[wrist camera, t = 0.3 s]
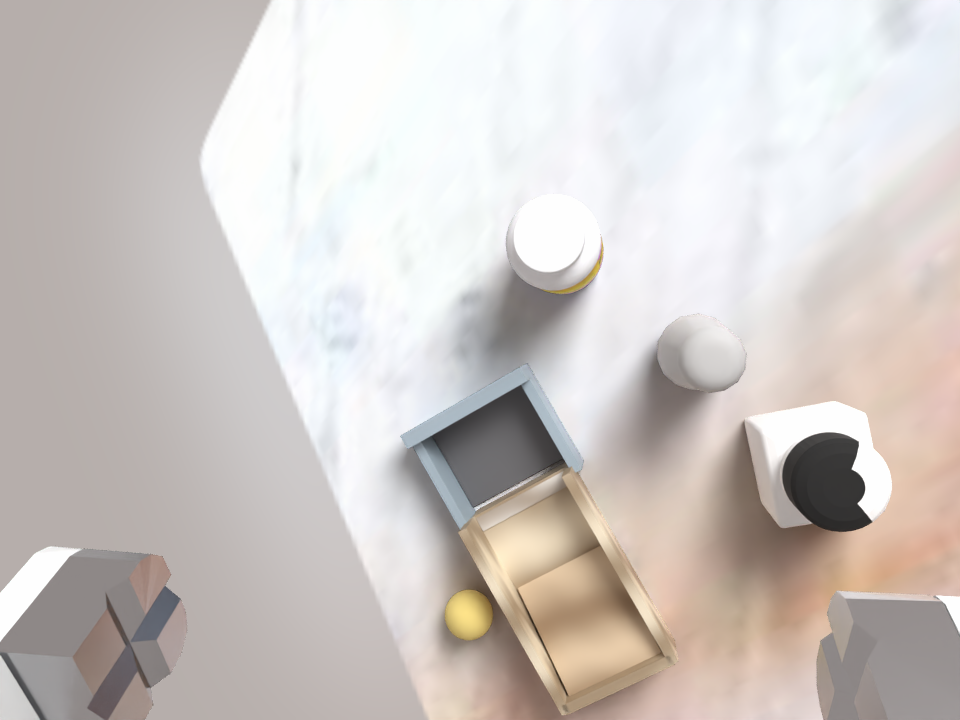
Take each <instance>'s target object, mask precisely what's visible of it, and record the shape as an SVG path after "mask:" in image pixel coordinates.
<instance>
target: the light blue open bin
mask: <svg viewBox="0 0 960 720" xmlns="http://www.w3.org/2000/svg"><path fill="white" fill-rule="evenodd" d="M432 435H433V436H432ZM400 437H401V438H402V440H403V442H404V444H405V445H406V447H407V449H409V448H411V447H412V446H413V448H414V450H415V452H416V453H417V455H418V457H419V459H420V460H421V462H422V464H423V466H424V467H425V469H426V471H427V473H428V474H429V476H430V478H431V480H432V482H433V483H434V485H435V487H436V489H437V490H438V492H439V494H440V496H441V497H442V499H443V501H444V503H445V504H446V506H447V508H448V510H449V511H450V513H451V515H452V517H453V518H454V520H455V522H456V524H457V526H458V527H459V529H461V528H462V527H463V525H464V524H465V523H467V522H468V520H469V519H470V518H472V517H473V515H474V514H475V510H474V508H473V507H474V506H476V505H478V504H480V503H482V502H484V501H486V500H487V499H489V498H491V497H493V496H495V495H497V494H498V493H500V492H502V491H504V490H506V489H508V488H510V487H511V486H513V485H515V484H517V483H519V482H521V481H522V480H524V479H526V478H528V477H530V476H532V475H533V474H535V473H537V472H539V471H541V470H543V469H545V468H546V467H548V466H550V465H552V464H554V463H556V462H557V461H559V460H561V459H564V460H565V462H566V464H567V465H568V467H571V466H572V468H573V470H574V471H575V473H576V472H578V471H580V470H582V466H583V462H584V460H583V459H582V457H581V455H580V453H579V452H578V450H577V448H576V447H575V445H574V443H573V441H572V440H571V438H570V436H569V434H568V433H567V431H566V429H565V427H564V426H563V424H562V422H561V421H560V419H559V417H558V415H557V414H556V412H555V410H554V408H553V407H552V405H551V403H550V401H549V400H548V398H547V396H546V395H545V393H544V391H543V389H542V388H541V386H540V384H539V382H538V381H537V379H536V377H535V376H534V374H533V372H532V370H531V369H530V367H529V365H528V363H526V364H524V365H523V366H521V367H519V368H517V369H516V370H514V371H512V372H510V373H509V374H507V375H505V376H503V377H502V378H500V379H498V380H496V381H495V382H493V383H491V384H489V385H488V386H486V387H484V388H483V389H481V390H479V391H477V392H476V393H474V394H472V395H470V396H469V397H467V398H465V399H463V400H462V401H460V402H458V403H456V404H455V405H453V406H451V407H450V408H448V409H446V410H444V411H443V412H441V413H439V414H437V415H436V416H434V417H432V418H430V419H429V420H427V421H425V422H423V423H422V424H420V425H418V426H417V427H415V428H413V429H411V430H410V431H408V432H406V433H404V434H403V435H401V436H400ZM433 437H434V438H433ZM434 439H435V440H436V441H435V440H434ZM436 442H437V443H436ZM437 444H438V445H437ZM438 446H439V447H438ZM440 449H441V450H440ZM441 451H442V452H441ZM442 453H443V454H442ZM444 456H445V457H444ZM445 458H446V459H445ZM446 460H447V461H446ZM448 463H449V464H448ZM449 465H450V466H449ZM450 467H451V468H450ZM452 470H453V471H452ZM453 472H454V473H453ZM454 474H455V475H454ZM455 476H456V477H457V478H456V477H455ZM457 479H458V480H457ZM458 481H459V482H458ZM459 483H460V484H461V485H460V484H459ZM461 486H462V487H461ZM462 488H463V489H462ZM463 490H464V491H465V492H464V491H463ZM465 493H466V494H465ZM466 495H467V496H466ZM467 497H468V498H469V499H468V498H467ZM469 500H470V501H469ZM470 502H471V503H470ZM471 504H472V505H473V506H472V505H471Z"/></svg>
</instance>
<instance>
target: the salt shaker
mask: <svg viewBox="0 0 960 720" xmlns="http://www.w3.org/2000/svg"><path fill="white" fill-rule="evenodd" d="M746 356H747V353H746V351H745V348H744V346H743V344H742V342H741V339H739V338H738V337H737V336H736V335H735V334H734V333H733V332H732V331H730V330H729V329H727V328H726V327H725V326H724V325H723V324H722V323H720V322H719V321H718V320H717V319H716V318H713V317H709V316H705V315H702V314H693V315H687V316H681V317H679V318H678V319H677V320H675V321H674V322H672V323H671V324H670V325H668V326H667V327H666V329H665V330H664V332H663V334H662V335H661V337H660V339H659V340H658V349H657V359H658V362H659V364H660V367H661V369H662V372H663V374H664V375H665V376H666V377H668V378H669V379H670V380H671V381H672V382H673V383H675V384H676V385H678V386H681V387H684V388H688V389H691V390H697V389H698V390H701V391H704V392H708V393H712V392H718V391H724V390H726V389H728V388H729V387H731V386H732V385H734V384H735V383H737V382H738V381H739V379H740V377H741V376H742V374H743V372H744V370H745V368H746Z"/></svg>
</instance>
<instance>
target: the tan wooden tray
mask: <svg viewBox="0 0 960 720" xmlns="http://www.w3.org/2000/svg"><path fill="white" fill-rule="evenodd" d="M458 534H459V535H460V537H461V539H462V541H463V542H464V544H465V546H466V548H467V549H468V551H469V553H470V555H471V556H472V558H473V560H474V562H475V563H476V565H477V567H478V569H479V571H480V572H481V574H482V576H483V578H484V579H485V581H486V583H487V585H488V586H489V588H490V590H491V592H492V593H493V595H494V597H495V599H496V600H497V602H498V604H499V606H500V607H501V609H502V611H503V613H504V615H505V616H506V618H507V620H508V622H509V623H510V625H511V627H512V629H513V630H514V632H515V634H516V636H517V637H518V639H519V641H520V643H521V644H522V646H523V648H524V650H525V651H526V653H527V655H528V657H529V659H530V660H531V662H532V664H533V666H534V667H535V669H536V671H537V673H538V674H539V676H540V678H541V680H542V681H543V683H544V685H545V687H546V688H547V690H548V692H549V694H550V696H551V697H552V699H553V701H554V703H555V704H556V706H557V708H558V710H559V711H560V713H561V715H562V716H563V715H565V714H566V715H569V714H571V713H573V712H575V711H577V710H579V709H581V708H583V707H586V706H588V705H590V704H592V703H594V702H596V701H598V700H601V699H603V698H605V697H607V696H609V695H611V694H613V693H615V692H618V691H620V690H622V689H624V688H626V687H628V686H630V685H633V684H635V683H637V682H639V681H641V680H643V679H645V678H647V677H650V676H652V675H654V674H656V673H658V672H660V671H662V670H665V669H667V668H669V667H671V666H673V665H675V663H676V662H678V656H677V650H676V644H675V640H674V638H673V637H672V635H671V633H670V631H669V629H668V628H667V626H666V624H665V622H664V621H663V619H662V617H661V616H660V614H659V612H658V611H657V609H656V607H655V605H654V604H653V602H652V600H651V598H650V597H649V595H648V593H647V591H646V590H645V588H644V586H643V585H642V583H641V581H640V579H639V578H638V576H637V574H636V572H635V571H634V569H633V567H632V565H631V564H630V562H629V560H628V559H627V557H626V555H625V553H624V552H623V550H622V548H621V546H620V545H619V543H618V541H617V539H616V538H615V536H614V534H613V533H612V531H611V529H610V527H609V526H608V524H607V522H606V520H605V519H604V517H603V515H602V513H601V512H600V510H599V508H598V507H597V505H596V503H595V501H594V500H593V498H592V496H591V494H590V493H589V491H588V489H587V487H586V486H585V484H584V482H583V481H582V479H581V477H580V475H579V474H578V472H576V473H575V471H574V470H573V468H572V466H571V467H568V465H567V464H566V462H565V463H563V464H561V465H560V466H558V467H556V468H554V469H552V470H550V471H548V472H547V473H545V474H543V475H541V476H539V477H537V478H536V479H534V480H532V481H530V482H528V483H526V484H524V485H523V486H521V487H519V488H517V489H515V490H513V491H512V492H510V493H508V494H506V495H504V496H502V497H500V498H499V499H497V500H495V501H493V502H491V503H489V504H487V505H486V506H484V507H482V508H480V509H478V510H477V511H476V512H475V514H474V515H473V517H472V518H470V519H469V520H468V522H467V523H465V524H464V525H463V527H462V528H461V529H460V531H459V532H458Z"/></svg>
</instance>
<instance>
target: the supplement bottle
mask: <svg viewBox="0 0 960 720" xmlns="http://www.w3.org/2000/svg"><path fill="white" fill-rule="evenodd" d="M506 251H507V256H508V259H509V262H510V264H511V266H512V268H513V269H514V271H515V272H516V273H517V275H518V276H519V277H520V278H521V279H523V280H524V281H525V282H527V283H528V284H530V285H532V286H534V287H536V288H539V289H541V290H544V291H546V292H549V293H554V294H569V293H573V292H576V291H578V290H581V289H582V288H584V287H585V286H587V285H588V284H589V283H590V282H591V281H592V280H593V279H594V278H595V276H596V275H597V273H598V272H599V270H600V267H601V264H602V260H603V243H602V238H601V234H600V230H599V226H598V224H597V221H596V219H595V217H594V216H593V214H592V213H591V212H590V210H589V209H588V208H587V207H586V206H585V205H583V204H582V203H581V202H579V201H577V200H576V199H574V198H571V197H568V196H565V195H558V194H550V195H544V196H540V197H538V198H535V199H533V200H531V201H529V202H528V203H526V204H525V205H524V206H522V207H521V208H520V209H519V210H518V212H517V213H516V214H515V215H514V217H513V219H512V220H511V222H510V225H509V227H508V231H507V236H506Z"/></svg>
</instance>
